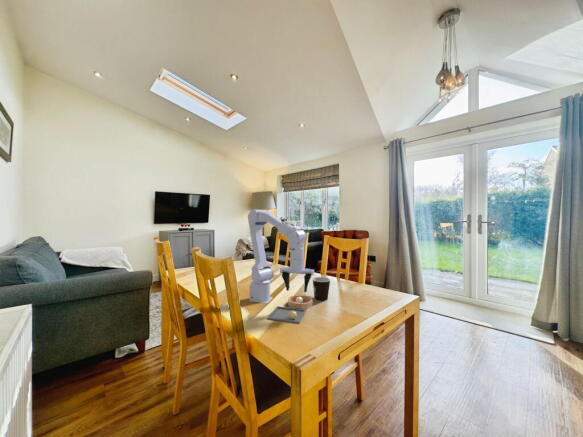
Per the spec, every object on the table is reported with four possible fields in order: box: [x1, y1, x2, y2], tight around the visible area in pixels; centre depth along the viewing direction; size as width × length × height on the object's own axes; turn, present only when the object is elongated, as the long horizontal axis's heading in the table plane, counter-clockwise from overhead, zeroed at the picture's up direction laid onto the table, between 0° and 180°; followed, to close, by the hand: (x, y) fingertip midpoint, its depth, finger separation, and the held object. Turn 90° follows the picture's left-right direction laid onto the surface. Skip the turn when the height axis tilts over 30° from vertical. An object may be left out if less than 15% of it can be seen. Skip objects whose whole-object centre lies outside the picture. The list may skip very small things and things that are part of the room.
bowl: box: [287, 294, 314, 310], centre depth 107 cm, size 11×11×3 cm
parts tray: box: [267, 305, 307, 325], centre depth 96 cm, size 13×12×1 cm
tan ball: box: [289, 311, 297, 319], centre depth 92 cm, size 3×3×3 cm
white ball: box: [296, 297, 303, 303], centre depth 108 cm, size 3×3×3 cm
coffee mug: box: [312, 276, 331, 302], centre depth 117 cm, size 12×9×10 cm
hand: (296, 290), depth 99 cm, fingers open, 7 cm apart
